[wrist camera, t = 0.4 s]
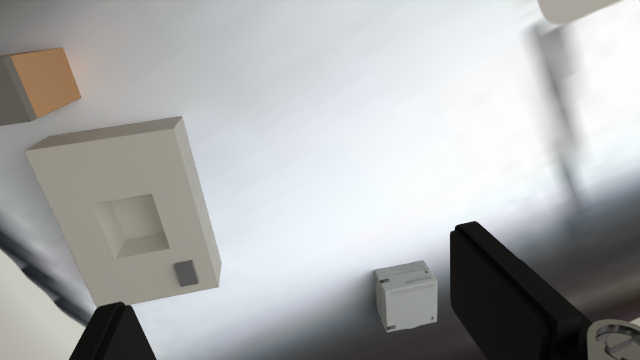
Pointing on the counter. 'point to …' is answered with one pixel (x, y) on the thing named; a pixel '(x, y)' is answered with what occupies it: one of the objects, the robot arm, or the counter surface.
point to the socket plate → (130, 210)
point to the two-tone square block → (34, 85)
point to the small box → (406, 296)
